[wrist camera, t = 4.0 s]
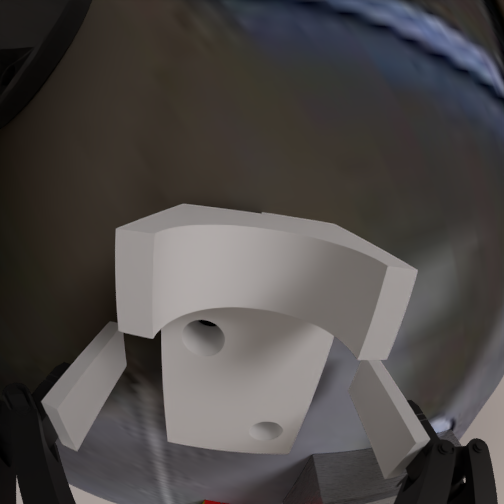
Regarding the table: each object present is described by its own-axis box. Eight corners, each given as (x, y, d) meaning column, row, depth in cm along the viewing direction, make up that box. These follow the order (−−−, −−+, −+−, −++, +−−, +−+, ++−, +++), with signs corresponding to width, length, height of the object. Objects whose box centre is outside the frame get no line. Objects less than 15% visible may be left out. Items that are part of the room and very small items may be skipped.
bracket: (187, 202, 13) (115, 228, 6) (332, 223, 13) (417, 270, 6) (178, 403, 16) (154, 495, 9) (283, 414, 16) (295, 508, 9)
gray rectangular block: (277, 502, 20) (280, 544, 14) (308, 451, 17) (320, 511, 11) (404, 483, 21) (418, 514, 15) (455, 425, 18) (479, 460, 12)
